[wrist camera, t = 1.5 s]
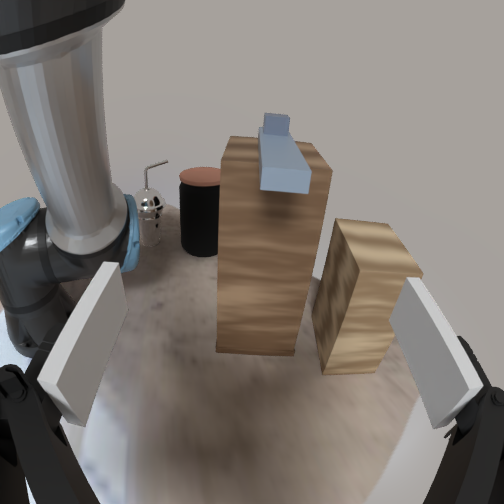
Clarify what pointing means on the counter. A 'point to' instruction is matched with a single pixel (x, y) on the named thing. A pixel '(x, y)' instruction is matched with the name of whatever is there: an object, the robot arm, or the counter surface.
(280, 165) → the lid
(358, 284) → the oak block
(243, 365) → the counter surface
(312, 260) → the walnut box
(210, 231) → the coffee jar
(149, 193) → the cup with straw
